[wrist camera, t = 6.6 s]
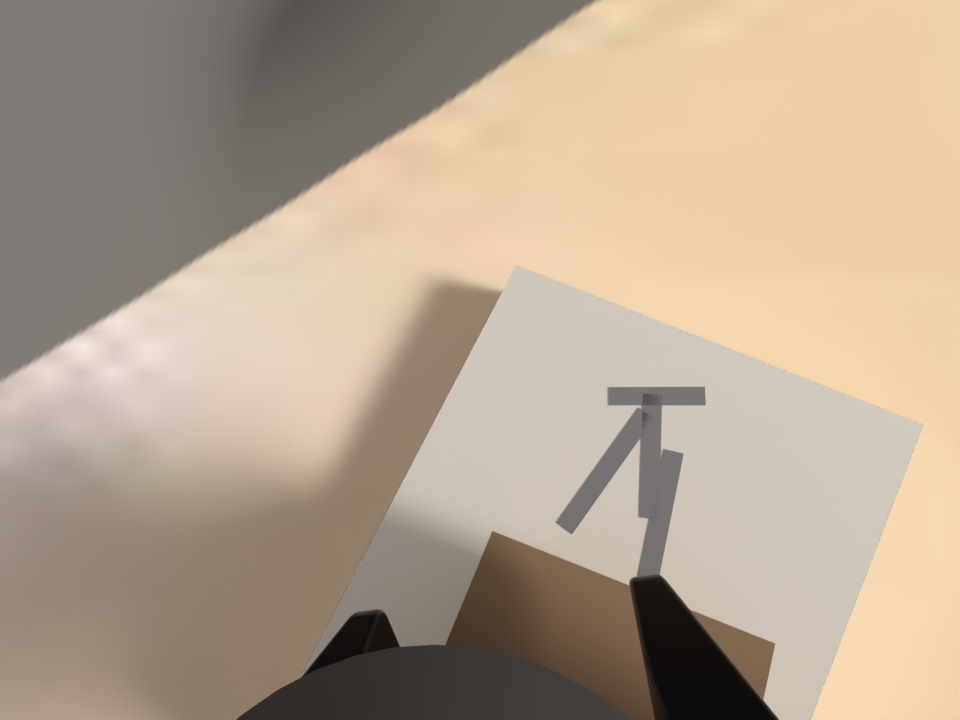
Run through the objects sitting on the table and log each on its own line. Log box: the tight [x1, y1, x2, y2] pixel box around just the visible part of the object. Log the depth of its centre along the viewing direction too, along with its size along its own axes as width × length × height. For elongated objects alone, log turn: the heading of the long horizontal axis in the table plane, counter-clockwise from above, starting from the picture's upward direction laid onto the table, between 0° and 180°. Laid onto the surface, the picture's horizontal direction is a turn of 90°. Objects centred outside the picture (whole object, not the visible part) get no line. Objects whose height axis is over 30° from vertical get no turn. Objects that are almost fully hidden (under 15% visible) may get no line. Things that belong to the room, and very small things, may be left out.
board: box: [299, 265, 923, 720], centre depth 14 cm, size 14×9×2 cm, turn 152°
